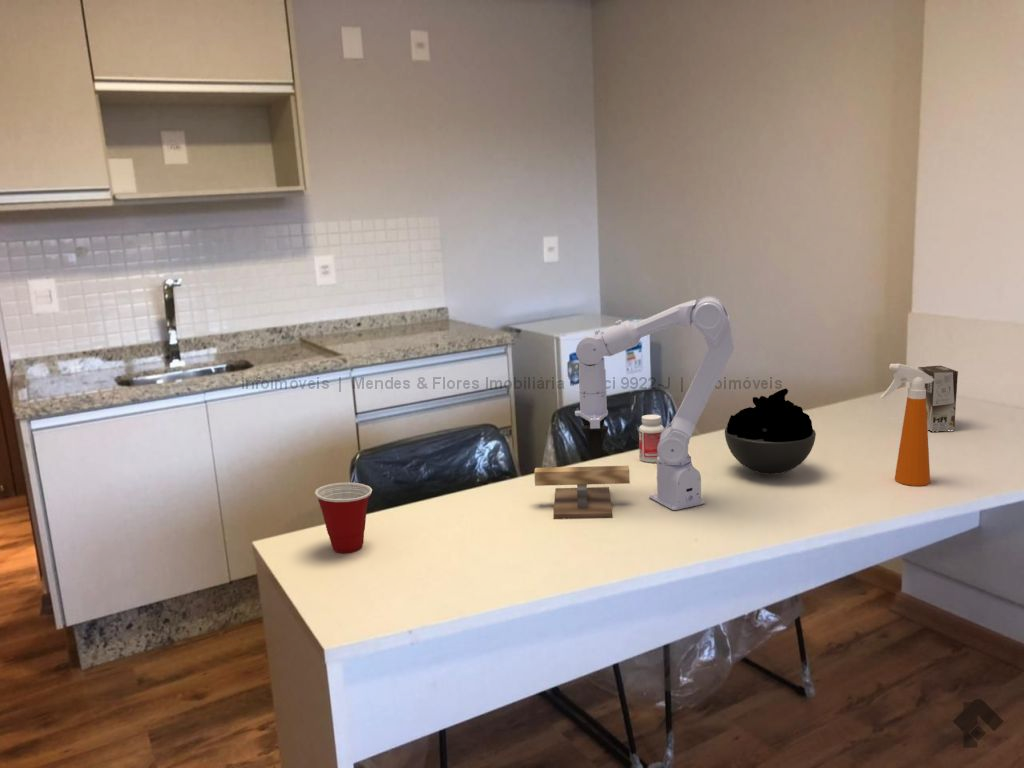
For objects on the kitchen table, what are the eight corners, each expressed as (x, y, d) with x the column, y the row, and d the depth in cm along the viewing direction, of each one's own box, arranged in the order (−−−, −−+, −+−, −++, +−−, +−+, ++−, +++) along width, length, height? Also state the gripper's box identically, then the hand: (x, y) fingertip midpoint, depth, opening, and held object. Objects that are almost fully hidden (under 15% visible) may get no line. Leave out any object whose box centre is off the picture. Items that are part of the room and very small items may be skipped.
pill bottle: (669, 459, 204) (669, 416, 202) (651, 464, 201) (650, 421, 199) (652, 454, 209) (651, 412, 207) (634, 459, 206) (633, 416, 204)
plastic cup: (380, 553, 157) (375, 493, 154) (322, 562, 154) (316, 502, 151) (373, 533, 167) (368, 476, 164) (319, 541, 164) (313, 484, 161)
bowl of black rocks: (758, 491, 179) (759, 407, 175) (708, 466, 197) (707, 390, 193) (833, 478, 185) (836, 396, 181) (778, 455, 203) (779, 380, 200)
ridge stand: (612, 517, 168) (611, 494, 167) (553, 518, 169) (552, 495, 168) (609, 491, 184) (608, 469, 183) (555, 492, 185) (554, 471, 184)
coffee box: (955, 431, 215) (959, 371, 212) (930, 432, 215) (934, 372, 212) (938, 422, 224) (941, 364, 221) (914, 423, 224) (917, 365, 221)
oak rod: (628, 478, 176) (628, 465, 176) (629, 483, 173) (629, 469, 173) (535, 481, 178) (535, 467, 177) (535, 485, 175) (534, 472, 174)
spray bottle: (873, 475, 185) (878, 360, 180) (925, 476, 183) (931, 360, 178) (880, 485, 178) (885, 366, 173) (934, 486, 176) (941, 366, 171)
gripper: (573, 384, 183) (576, 443, 186) (574, 399, 169) (577, 462, 172) (605, 383, 182) (607, 442, 185) (609, 398, 168) (611, 461, 171)
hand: (595, 452), depth 178 cm, fingers open, 7 cm apart
